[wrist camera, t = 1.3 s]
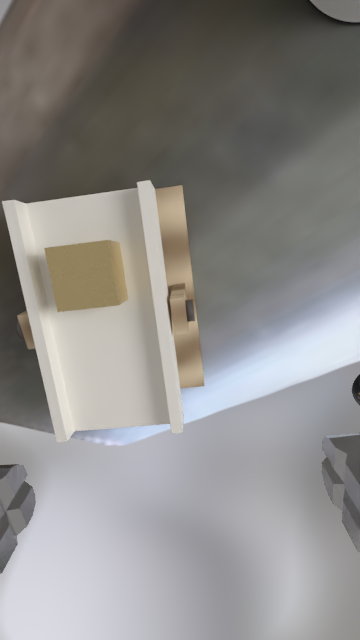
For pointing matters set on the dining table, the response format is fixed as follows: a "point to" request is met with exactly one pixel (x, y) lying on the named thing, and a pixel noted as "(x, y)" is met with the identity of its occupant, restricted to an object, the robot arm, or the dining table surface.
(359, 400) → the supplement bottle
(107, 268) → the block
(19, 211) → the beam
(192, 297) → the stand
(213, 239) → the dining table surface
